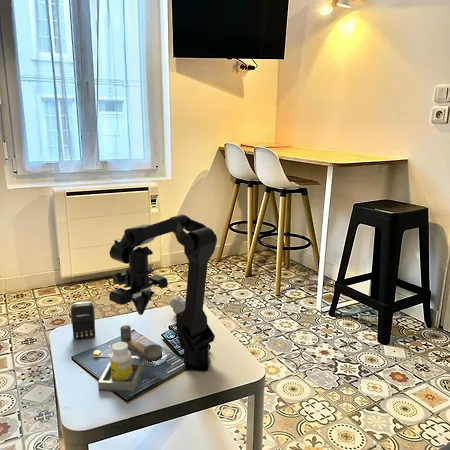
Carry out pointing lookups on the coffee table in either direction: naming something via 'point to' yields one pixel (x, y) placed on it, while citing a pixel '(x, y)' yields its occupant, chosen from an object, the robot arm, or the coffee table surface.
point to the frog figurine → (177, 304)
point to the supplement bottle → (121, 362)
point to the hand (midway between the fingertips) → (140, 314)
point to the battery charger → (83, 320)
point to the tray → (115, 386)
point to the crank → (141, 345)
